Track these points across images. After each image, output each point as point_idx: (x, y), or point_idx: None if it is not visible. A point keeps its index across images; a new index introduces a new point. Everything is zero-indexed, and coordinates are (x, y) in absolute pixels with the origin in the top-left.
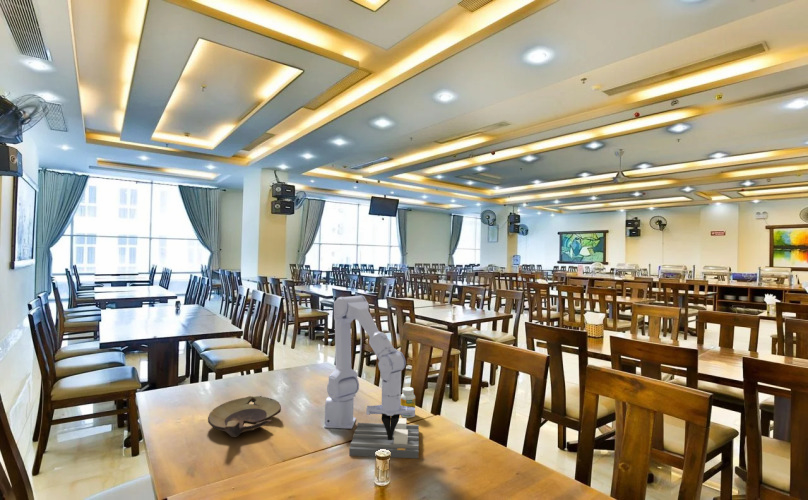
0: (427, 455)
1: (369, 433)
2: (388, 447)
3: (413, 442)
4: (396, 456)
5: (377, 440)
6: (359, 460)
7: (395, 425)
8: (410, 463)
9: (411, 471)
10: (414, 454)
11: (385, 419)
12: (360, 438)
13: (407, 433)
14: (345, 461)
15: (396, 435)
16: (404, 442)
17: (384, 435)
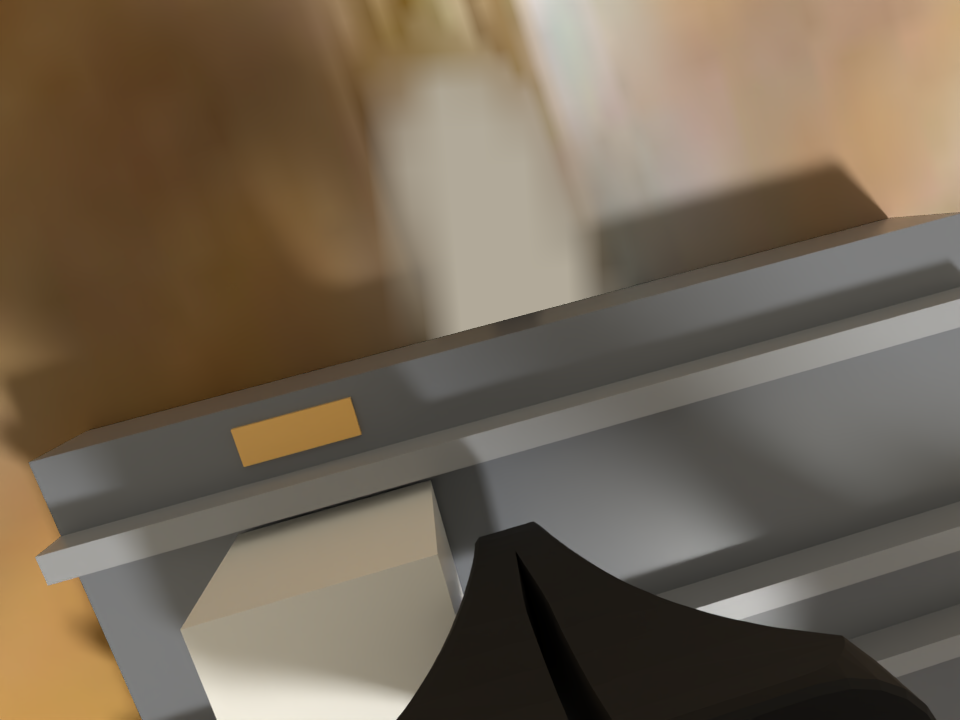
0: (3, 539)
1: None
2: (487, 417)
3: None
4: (357, 360)
5: (682, 535)
6: (752, 152)
7: (415, 702)
8: (140, 286)
9: (52, 101)
10: (112, 431)
11: (784, 705)
12: (897, 502)
13: (218, 709)
14: (894, 79)
15: (391, 565)
16: (268, 546)
17: None
